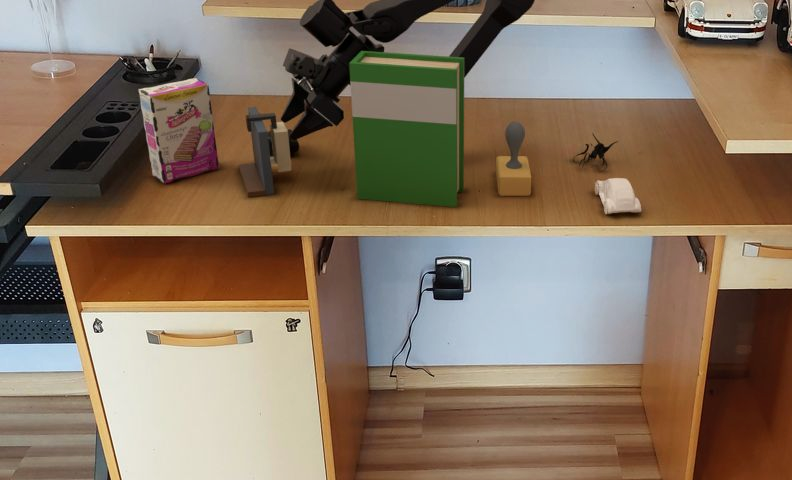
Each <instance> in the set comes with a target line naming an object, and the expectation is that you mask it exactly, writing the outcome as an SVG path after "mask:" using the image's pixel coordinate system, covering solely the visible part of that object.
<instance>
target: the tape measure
mask: <svg viewBox="0 0 792 480" xmlns="http://www.w3.org/2000/svg"><path fill="white" fill-rule="evenodd" d="M292 130H293V129H287V131H288V138H289V148H290V155H291V154H296V153H298V152H299V151H300V143H299V141H298V139H297V140H292V139H291V138H290V137H289V135H290V134H291V132H292ZM267 134H268V143H269V152H270V156H273V149H272V140H271V130H267Z"/></svg>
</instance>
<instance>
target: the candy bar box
mask: <svg viewBox="0 0 792 480" xmlns="http://www.w3.org/2000/svg"><path fill="white" fill-rule="evenodd" d="M137 91H138V97H139V102H140V108H141V115H142V121H143V126H144V132H145V137H146V145H147V150H148V156H149V161H150V168H151V172H152V177H154V178H155V179H157V180H158V181H160V182H161V183H163V184H168V183H169V184H170V183H172V182H175V181H180V180H183V179H187V178H190V177H194V176H197V175H201V174H205V173H208V172H211V171H217V170H219V168H220V164H219V157H218V148H217V141H216V133H215V125H214V118H213V111H212V103H211V94H210V86H209V84H208V83H207V82H205V81H202V80H200V79H198V78H196V77H193V78H188V79H184V80H177V81H174V82H169V83H163V84H159V85H154V86H148V87H143V88H138V89H137Z"/></svg>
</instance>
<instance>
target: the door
mask: <svg viewBox="0 0 792 480" xmlns="http://www.w3.org/2000/svg"><path fill="white" fill-rule="evenodd" d="M247 111H248V115H256V114H260V112H259V110H258V108H257V106H253V107H247ZM251 129H252V132H250V136H251V144H252V151H253V160H254V161H253V162H250V163H242V164H238V165H237V166H238V171H239V174H240V177H241V180H242V183H243V186H244V189H245V192H246V195H247V197H248V198H253V197H261V196H269V195H270V196H271V195H275V189H274V188H275V187H274V179H273V173H275V172H278V165H277V163H274V164H271V161H270V157H271V155H270V152H269V143H268V134H267V132H268V130H267V127H266V125H265V124H264V120H258V121H251Z"/></svg>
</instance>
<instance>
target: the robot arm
mask: <svg viewBox="0 0 792 480" xmlns="http://www.w3.org/2000/svg"><path fill="white" fill-rule="evenodd" d="M535 1H536V0H485V4H484V8H483V11H482V13H481V14H480V15H479V17H477V19H476V21H475V22H474V23H473V24H472V26H471V27H470V28H469V30H468V31H467V32H466V34H465V35H464V36H463V38H462V39H461V40H460V42H458V43H457V45H456V47H455V48H454V49H453V50H452V52H451V53H450V54H449V55H448V57H463V58H464V79H465V78H467V76H468V74H469V73H470V72H471V70H472V69H473V68H474V66H475V65H476V64H477V63H478V62H479V60H480V59H481V57H482V56H483V55H484V54H485V53H486V51H487V50H488V49H489V48H490V46H491V45H492V44H493V42H494V41H495V39H497V37H498V36H499V35H500V33H501V32H502V31H503V30H504V29H505V28H507V27H508V26H510V25H512V24H515V22H517V21H519V20H520V19H521V18H522V17H523V16H524V15H525V14H526V13H527V12H528V11H529V10H530V9H531V8H532V7H533V5H534V4H535ZM452 2H455V0H375V1H372V2H370V3H368V4H367V5H365V7H364V8H362V9H357V10H353V11H347V12H344V11H343V10H342V9H341V8H340V7H339V6H338V5H337V4H336V3H335V1H334V0H317V1H316V2H314V3H313V4H312V5H309V6H308V7H307V8H306V10H305V11H304V12H303V14H302V16H301V17H300V20H299V25H300V26H301V27H302V28H303V29H304V30H305V31H306V32H308V33H309V34H310V35H311V36H312V37H313V38H314V39H315V40H316V41H318V42H319V43H320V44H321V45H322V46H323V47H325V48H329V47H330V46H331V47H332V48H334V49H333V50H332V51H331V53H329V55H328V54H326V53H325V54H322V55H321V56H320V57H319V58H316V57H314V56H312V55H309V54H307V53H304V52H302V51H299V50H296V49H293V48H290V47H289V48H288V50H287V52H286V56H285V58H284V61H283V63H282V66H283V67H284V70H285V71H286V72H287V73H289V74H291V75H292V77H291V78H290V79H291V80H290V81H291V83H292V84H291V85H292V92H291V95H290V97H289V99H288V101H287V104H286V106H285V108H284V110H283V112H282V115H281V117H280V122H283V123H284V124H286V123H288V122H290V121H291V120H293V119H295V118H297V117H298V116H300V115H301V114H302V115H301V116H300V117H299V119H298V121H297V122H296V124H295V125H294V127H293V129H291V130H292V132H291V134H290V135H289V137H290V138H291V139H292V140H297V141H298V140H299V139H301V138H304V137H306V136H308V135H311V134H313V133H315V132H318V131H321V130H323V129H326V128H328V127H330V128H332V127H333V126H336V127H338V126H339V125H340V124H341V122H342V121H343V120H344V119H345V112H344V109H343V108H342V107H341V105H340V104H339V103H340V101H341V99H340V97H339V96H341V94H342V93H343V91H345V89H346V88H347V87H348V86H350V87H351V84H350V68H349V63H350V62H351V61H352V60H353V59H354V58H355V57H356V56H357V55H358V54H359V53H360V52H361V51H372V52H385V46H384V45H383V44H387V43H390V42H393V41H394V40H396V39H397V38H398V37H400V36H402V35H403V34H404V33H406V31H408V30H409V29H410V28H411V26H412V25H413V24H414V23H416V21H418V20H419V19H420V18H422V17H424V16H426V15H428V14H430V13H432V12H434V11H436V10H438V9H440V8H443V7H444V6H446V5H448V4H450V3H452ZM351 28H353V29H354V30H355V31H356V32H357V33H358V34H359V35H357V34H356V33H355V32H354V31H353V30H351ZM369 37H372V39H374V41H377V42H379V43H378V44H377V43H375V42H373V41H372V40H371V39H370V38H369ZM381 43H383V44H381Z"/></svg>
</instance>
